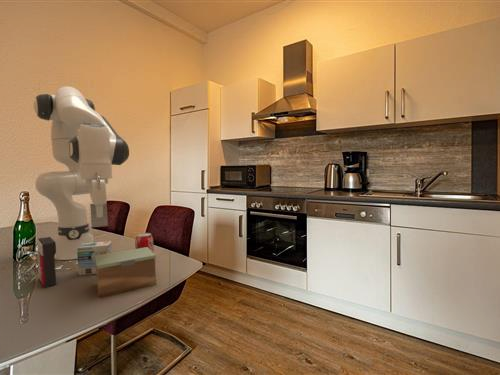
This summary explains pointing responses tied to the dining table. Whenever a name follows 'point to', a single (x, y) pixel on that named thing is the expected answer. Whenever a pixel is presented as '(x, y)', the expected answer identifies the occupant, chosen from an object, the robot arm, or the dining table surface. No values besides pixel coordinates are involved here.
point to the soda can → (144, 241)
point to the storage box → (125, 277)
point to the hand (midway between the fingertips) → (99, 215)
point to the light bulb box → (91, 256)
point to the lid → (123, 257)
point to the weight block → (101, 220)
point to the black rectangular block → (46, 261)
